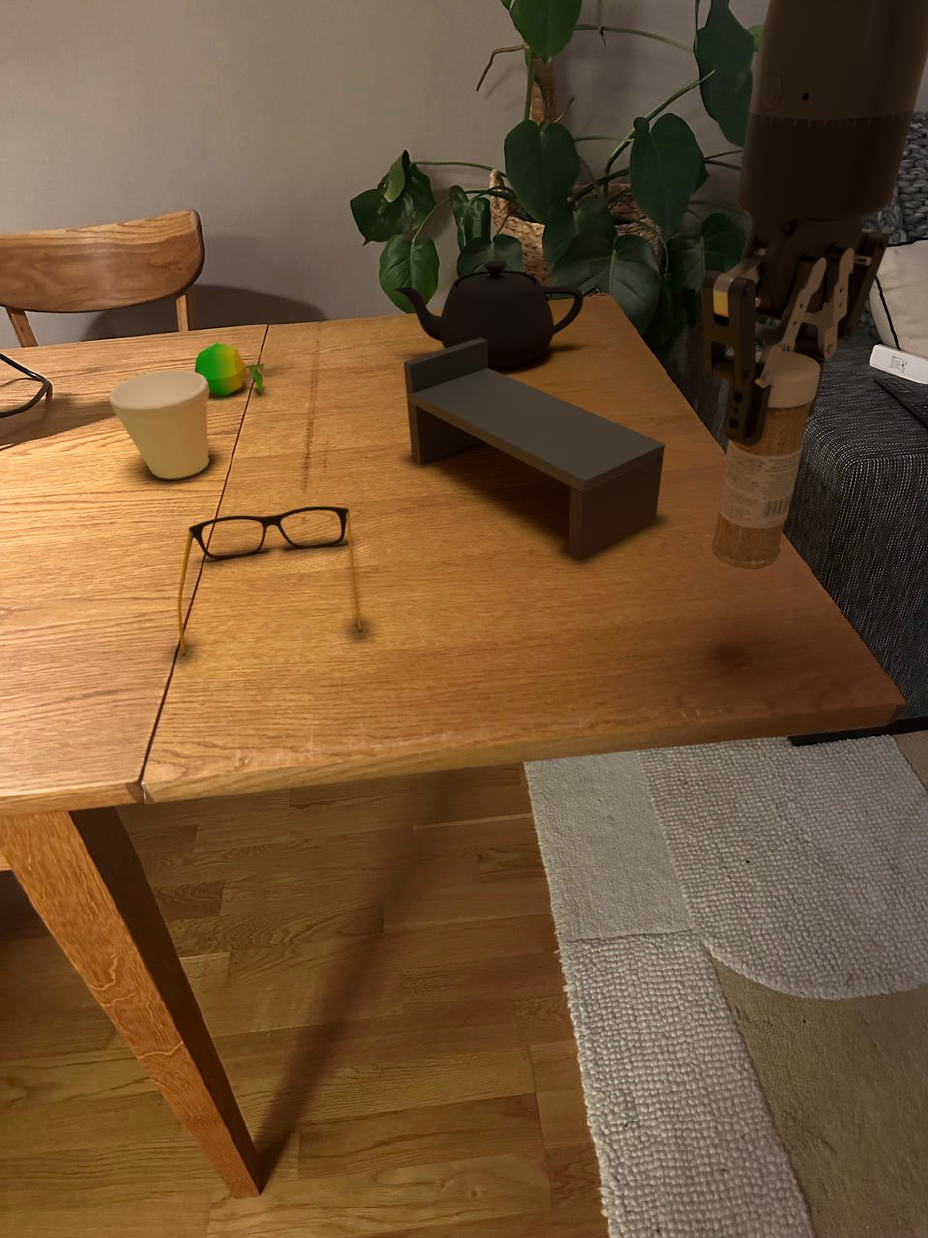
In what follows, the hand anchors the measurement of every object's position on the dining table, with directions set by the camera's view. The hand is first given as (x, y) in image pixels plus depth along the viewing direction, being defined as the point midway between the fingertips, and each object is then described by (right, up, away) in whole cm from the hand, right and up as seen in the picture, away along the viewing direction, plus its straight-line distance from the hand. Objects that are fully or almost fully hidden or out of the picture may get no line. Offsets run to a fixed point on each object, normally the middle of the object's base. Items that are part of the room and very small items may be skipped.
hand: (768, 426), depth 50 cm
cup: (-50, +5, +40) cm, 64 cm away
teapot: (-15, +24, +62) cm, 69 cm away
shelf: (-13, +2, +33) cm, 36 cm away
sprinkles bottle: (0, -7, +6) cm, 10 cm away
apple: (-49, +18, +56) cm, 77 cm away
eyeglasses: (-35, -10, +21) cm, 42 cm away
